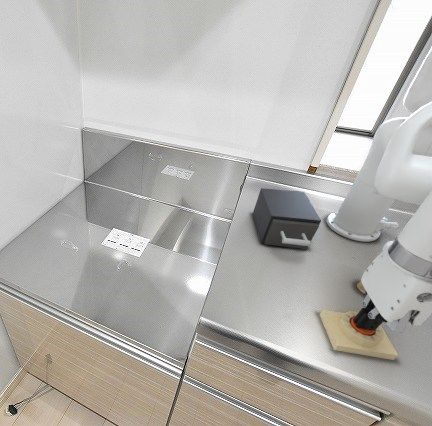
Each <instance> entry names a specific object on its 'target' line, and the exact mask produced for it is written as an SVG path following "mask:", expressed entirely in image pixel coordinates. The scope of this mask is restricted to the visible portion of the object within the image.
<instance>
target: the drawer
mask: <svg viewBox="0 0 432 426" xmlns="http://www.w3.org/2000/svg"><path fill="white" fill-rule="evenodd" d="M319 227H320V224H319V225H318V224H317V223H311V222H304V221H294V220H284V219H273V220H272V223H271V225H270V228H269V230H268V233H267V235H266V238H265V241H264V242H265V244H264V245H269V246H276V247H285V248H294V249H295V248H296V249H303V250H308V248H309V247H311V244H312V241H313V239H314V237H315V235H316V233H317V231H318V230H319Z"/></svg>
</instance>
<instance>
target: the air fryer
mask: <svg viewBox="0 0 432 426" xmlns="http://www.w3.org/2000/svg"><path fill="white" fill-rule="evenodd" d="M307 195H308V194H306V192H305V191H301V190H300V191H298V190H288V189H275V188H264V187H263V188H262V187H261V188H260V190H259V193H258V196H257V200H256V202H255V205H254V208H253V212H252V218H253V221H254V224H255V228H256V231H257V235H258V239H259V242H260V244H262V245H266V244H265V242H264V241H265V238H266V235H267V233H268V230H269V228H270V225H271V223H272V220H273V219H284V220H294V221H304V222H311V223H317V224H318V225H319V226H320V224H321V222H322V219H321V217H320V215H319V214H318V212H317V211H316V208H315V207H314V205H313V204H312V202H311V200H310V199H309V197H308V196H307Z"/></svg>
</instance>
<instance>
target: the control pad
mask: <svg viewBox="0 0 432 426" xmlns="http://www.w3.org/2000/svg"><path fill="white" fill-rule="evenodd" d="M358 313H359V311H353V310H349V311H345V312H341V311H335V310H328V309H322V310H321V311H320V312H319V314H318V315H319V318H320V321H321V322H322V324H323V327H324V329H325V332H326V334H327V337H328V339H329V341H330V343H331V346H332V349H333V351H336V352H337V351H338V352H344V353H351V354H355V355H360V356H361V355H362V356H368V357H374V358H379V359H384V360H385V359H386V360H391V361H394V360H395V359H397V358H398V356H399V354H398V352H397V350H396V349H395V347H394V345H393V343H392V341H391V340H390V337H388V335H387V333H386V331H385V329H384V328H383V326H382V324H380V326H379V327H378V328H377V329H376V330H375V331H374V333H373V334H372V335H371V336H367V335H363V334H361V333H359V332H357V331H356V330H355V329H354V328H353V327H352V326H351V324H350V321H351V320H352V318H354V317H355V316H356V315H357V314H358Z"/></svg>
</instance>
